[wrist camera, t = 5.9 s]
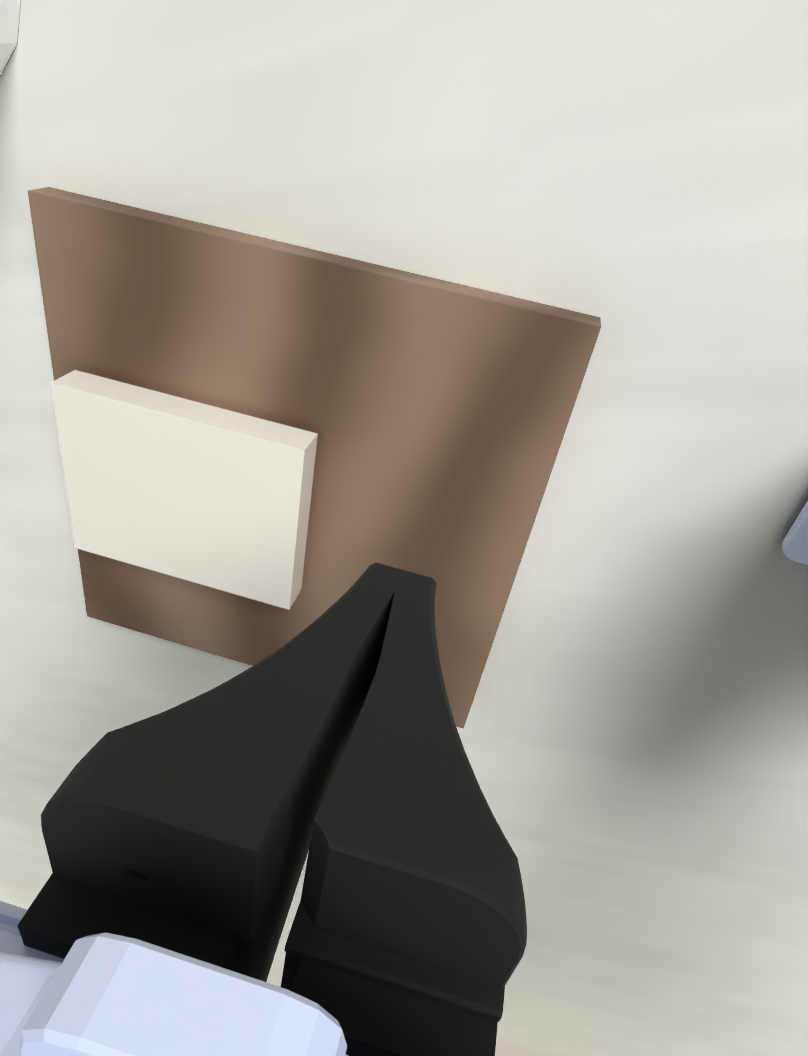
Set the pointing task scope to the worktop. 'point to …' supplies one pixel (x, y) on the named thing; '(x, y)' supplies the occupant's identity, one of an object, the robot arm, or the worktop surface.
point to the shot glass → (8, 29)
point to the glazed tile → (185, 486)
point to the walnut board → (324, 411)
